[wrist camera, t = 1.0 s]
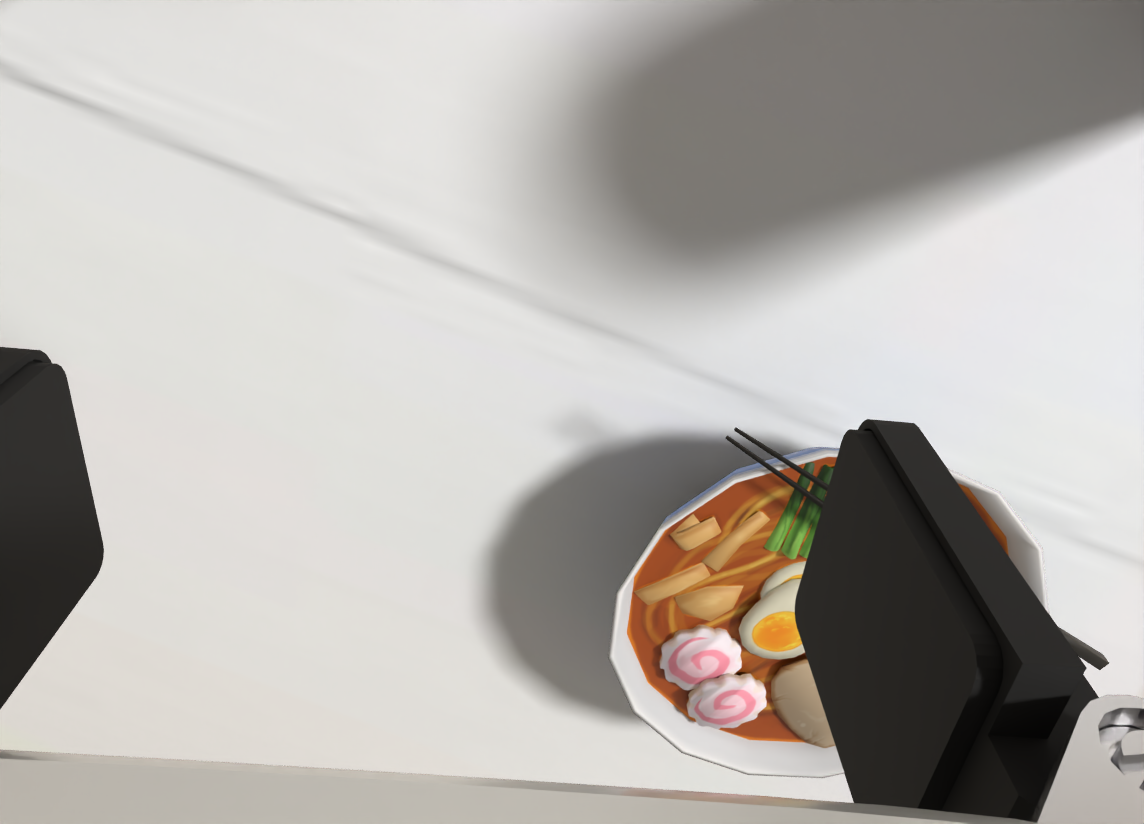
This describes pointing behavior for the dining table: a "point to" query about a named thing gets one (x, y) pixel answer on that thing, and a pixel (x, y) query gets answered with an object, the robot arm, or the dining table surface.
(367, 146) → the dining table surface
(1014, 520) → the ramen bowl
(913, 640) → the robot arm
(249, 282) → the dining table surface
